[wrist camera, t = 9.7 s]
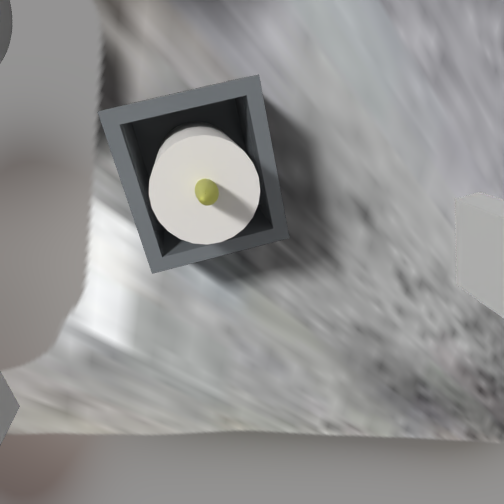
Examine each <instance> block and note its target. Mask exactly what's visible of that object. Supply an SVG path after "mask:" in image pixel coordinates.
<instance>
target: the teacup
mask: <svg viewBox="0 0 504 504" xmlns="http://www.w3.org/2000/svg"><path fill="white" fill-rule="evenodd" d="M11 33H12V11H11V5H10V0H0V63H1V61H2V60H3V58H4V56H5V54H6V52H7V49H8V46H9V43H10V38H11Z"/></svg>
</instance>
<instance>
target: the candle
mask: <svg viewBox="0 0 504 504" xmlns="http://www.w3.org/2000/svg"><path fill="white" fill-rule="evenodd" d="M259 196H260V184H259V176H258V174H257V171H256V169H255V166H254V164H253V162H252V161H251V160H250V158H249V157H248V156H247V154H246V153H245V152H244V151H243V150H242V149H241V148H240V147H239V146H238V145H237V144H236V143H235V142H234V141H233V140H232V139H230V138H229V137H228V136H227V135H226V134H225V133H224V132H223V131H221V130H220V129H219V128H217V127H216V126H213V125H211V124H209V123H206V122H198V121H194V122H187V123H184V124H181V125H179V126H177V127H175V128H174V129H173V130H171V131H170V132H169V133H168V134H167V135H166V137H165V138H164V140H163V141H162V143H161V145H160V148H159V151H158V154H157V157H156V160H155V164H154V167H153V170H152V173H151V176H150V179H149V198H150V202H151V207H152V210H153V212H154V213H155V215H156V217H157V219H158V221H159V222H160V223H161V224H162V225H163V226H164V227H165V229H166V230H167V231H168V232H170V233H171V234H173V235H174V236H176V237H178V238H179V239H181V240H184V241H187V242H190V243H193V244H207V245H208V244H213V243H219V242H223V241H225V240H227V239H229V238H232V237H234V236H235V235H236V234H238V233H239V232H240V231H241V230H243V229H244V228H245V227H246V226H247V224H248V223H249V222H250V220H251V219H252V218H253V216H254V213H255V211H256V209H257V206H258V203H259Z"/></svg>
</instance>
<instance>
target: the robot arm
mask: <svg viewBox="0 0 504 504" xmlns="http://www.w3.org/2000/svg"><path fill="white" fill-rule="evenodd" d="M455 236H456V285H457V286H458V287H460V288H461V289H463V290H464V291H465V292H467V293H468V294H470V295H471V296H473V297H474V298H475V299H477V300H478V301H480V302H481V303H482V304H484V305H485V306H487V307H488V308H490V309H491V310H492V311H494V312H495V313H497V314H498V315H500V316H501V317H502V318H504V200H502V199H499V198H496V197H493V196H491V195H488V194H485V193H482V192H479V193H475V194H471V195H467V196H463V197H460V198H456V199H455ZM19 407H20V406H19V404H18V402H17V400H16V398H15V397H14V395H13V393H12V391H11V389H10V388H9V386H8V384H7V382H6V380H5V379H4V377H3V375H2V373H1V371H0V445H1V443H2V441H3V439H4V437H5V435H6V433H7V431H8V429H9V427H10V425H11V423H12V421H13V419H14V417H15V415H16V413H17V411H18V409H19Z"/></svg>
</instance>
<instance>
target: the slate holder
mask: <svg viewBox="0 0 504 504" xmlns="http://www.w3.org/2000/svg"><path fill="white" fill-rule="evenodd" d="M98 115H99V118H100V121H101V124H102V126H103V129H104V132H105V135H106V138H107V141H108V144H109V147H110V150H111V153H112V156H113V159H114V162H115V165H116V168H117V171H118V174H119V177H120V180H121V183H122V186H123V189H124V192H125V195H126V198H127V201H128V203H129V206H130V209H131V212H132V215H133V218H134V221H135V224H136V227H137V230H138V233H139V236H140V239H141V242H142V245H143V248H144V251H145V254H146V257H147V260H148V263H149V266H150V269H151V272H152V274H153V273H157V272H161V271H165V270H168V269H172V268H176V267H180V266H184V265H188V264H192V263H195V262H199V261H203V260H207V259H211V258H215V257H218V256H222V255H226V254H230V253H234V252H238V251H241V250H245V249H249V248H253V247H257V246H261V245H265V244H268V243H272V242H276V241H280V240H284V239H288V238H289V233H288V227H287V222H286V217H285V211H284V206H283V201H282V195H281V190H280V185H279V179H278V174H277V169H276V163H275V158H274V153H273V147H272V142H271V136H270V131H269V126H268V120H267V115H266V110H265V104H264V99H263V94H262V88H261V83H260V78H259V75H254V76H249V77H244V78H240V79H235V80H231V81H226V82H222V83H218V84H213V85H209V86H205V87H200V88H196V89H191V90H187V91H183V92H178V93H174V94H170V95H165V96H161V97H156V98H152V99H148V100H143V101H139V102H135V103H130V104H126V105H121V106H117V107H113V108H109V109H105V110H101V111H98ZM194 121H198V122H206V123H209V124H211V125H213V126H216V127H217V128H219V129H220V130H221V131H223V132H224V133H225V134H226V135H227V136H228V137H229V138H230V139H232V140H233V141H234V142H235V143H236V144H237V145H238V146H239V147H240V148H241V149H242V150H243V151H244V152H245V153H246V154H247V156H248V157H249V158H250V160H251V161H252V162H253V164H254V166H255V169H256V171H257V174H258V176H259V184H260V196H259V203H258V206H257V209H256V211H255V213H254V216H253V218H252V219H251V220H250V222H249V223H248V224H247V226H246V227H245V228H244V229H243V230H241V231H240V232H239V233H238V234H236V235H235V236H234V237H232V238H229V239H227V240H225V241H223V242H219V243H213V244H208V245H207V244H193V243H190V242H187V241H184V240H181V239H179V238H178V237H176V236H174V235H173V234H171V233H170V232H168V231H167V230H166V229H165V227H164V226H163V225H162V224H161V223H160V222H159V221H158V219H157V217H156V215H155V213H154V212H153V210H152V207H151V202H150V198H149V179H150V176H151V173H152V170H153V167H154V164H155V160H156V157H157V154H158V151H159V148H160V145H161V143H162V141H163V140H164V138H165V137H166V135H167V134H168V133H169V132H170V131H171V130H173V129H174V128H175V127H177V126H179V125H181V124H184V123H187V122H194Z"/></svg>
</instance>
